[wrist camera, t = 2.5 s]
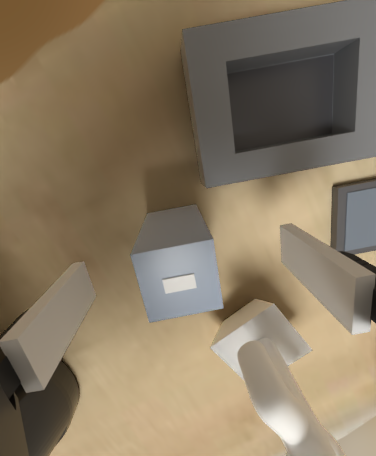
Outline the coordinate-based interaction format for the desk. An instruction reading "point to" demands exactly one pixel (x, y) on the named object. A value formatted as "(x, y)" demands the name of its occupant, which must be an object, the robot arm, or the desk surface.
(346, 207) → the phone
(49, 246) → the desk surface
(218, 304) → the brick
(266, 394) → the figurine
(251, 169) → the power strip
